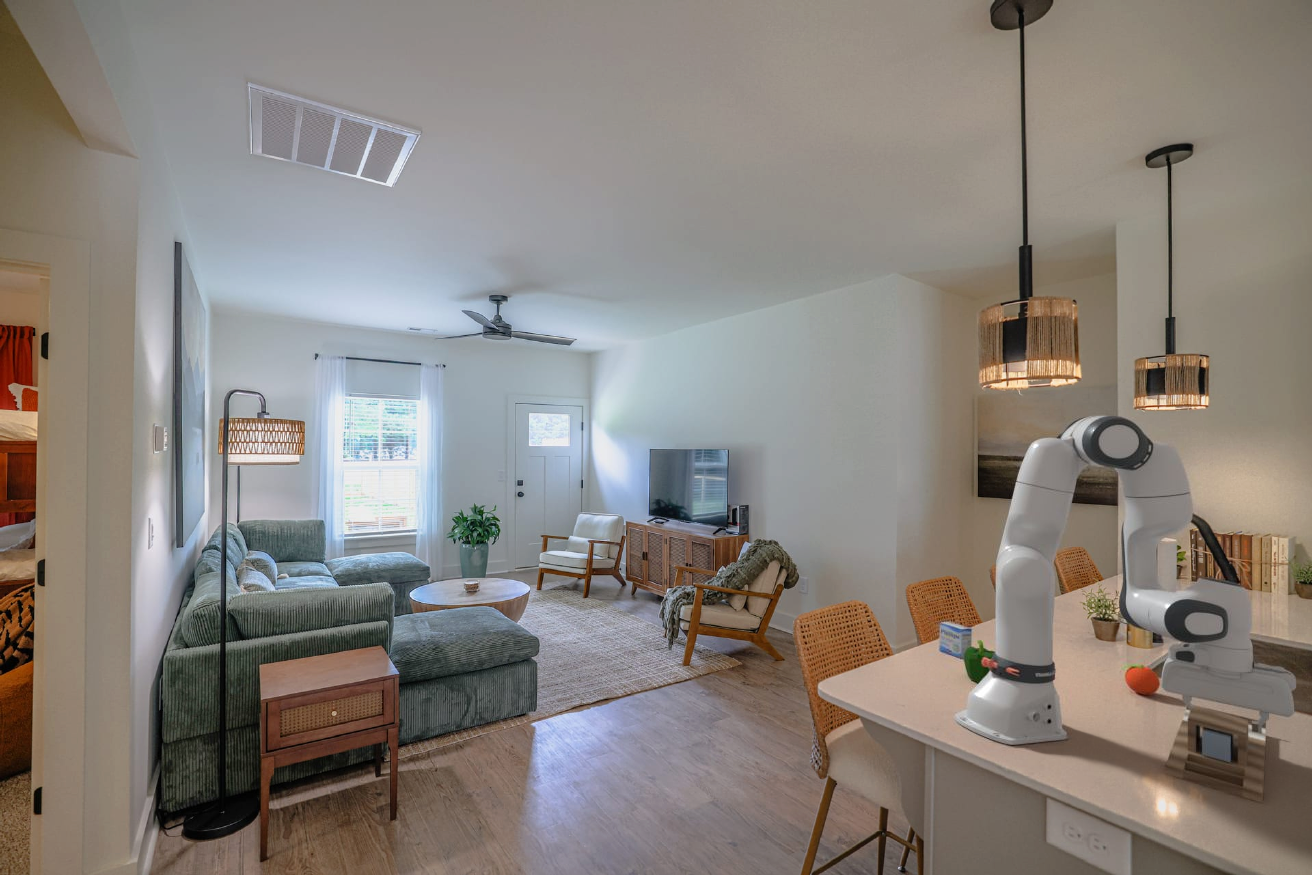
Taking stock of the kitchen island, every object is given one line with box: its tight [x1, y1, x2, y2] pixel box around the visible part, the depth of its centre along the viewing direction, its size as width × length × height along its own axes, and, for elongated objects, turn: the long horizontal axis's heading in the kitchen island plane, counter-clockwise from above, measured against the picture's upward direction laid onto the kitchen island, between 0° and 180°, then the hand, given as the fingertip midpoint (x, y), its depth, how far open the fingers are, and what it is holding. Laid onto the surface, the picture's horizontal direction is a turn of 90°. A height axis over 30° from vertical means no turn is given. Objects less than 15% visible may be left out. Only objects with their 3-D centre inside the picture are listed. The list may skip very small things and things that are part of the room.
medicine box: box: [938, 621, 973, 660], centre depth 183 cm, size 8×4×9 cm, turn 25°
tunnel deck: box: [1165, 704, 1267, 804], centre depth 124 cm, size 38×13×8 cm, turn 134°
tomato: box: [1119, 664, 1161, 696], centre depth 155 cm, size 8×7×7 cm
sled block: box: [1202, 708, 1235, 762], centre depth 123 cm, size 16×4×4 cm, turn 134°
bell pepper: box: [963, 639, 995, 683], centre depth 161 cm, size 8×8×10 cm
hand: (1224, 724), depth 127 cm, fingers open, 8 cm apart
